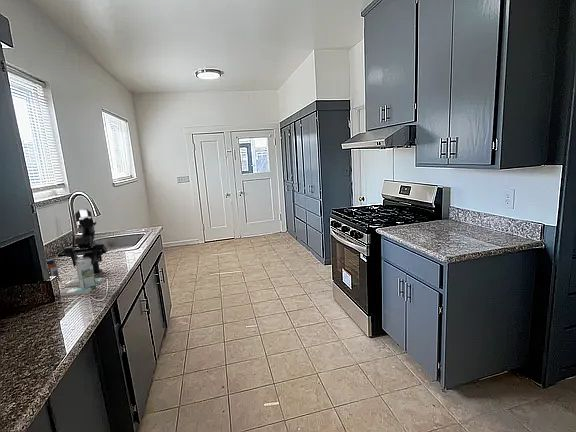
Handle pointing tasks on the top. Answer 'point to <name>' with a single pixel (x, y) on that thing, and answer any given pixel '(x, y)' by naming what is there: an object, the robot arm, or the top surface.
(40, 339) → the top surface
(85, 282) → the syrup box
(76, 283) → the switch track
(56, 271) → the supplement bottle
